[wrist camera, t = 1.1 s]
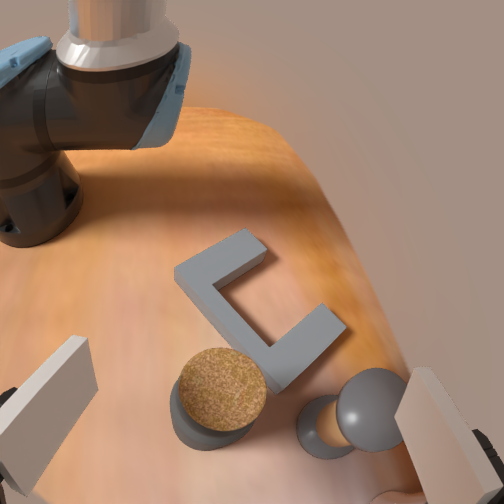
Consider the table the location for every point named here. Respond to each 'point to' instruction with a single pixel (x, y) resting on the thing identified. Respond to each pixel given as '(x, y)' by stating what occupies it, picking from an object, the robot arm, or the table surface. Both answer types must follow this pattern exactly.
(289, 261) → the table surface
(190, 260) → the notch board
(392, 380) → the bobbin
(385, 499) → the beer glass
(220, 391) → the bottle
